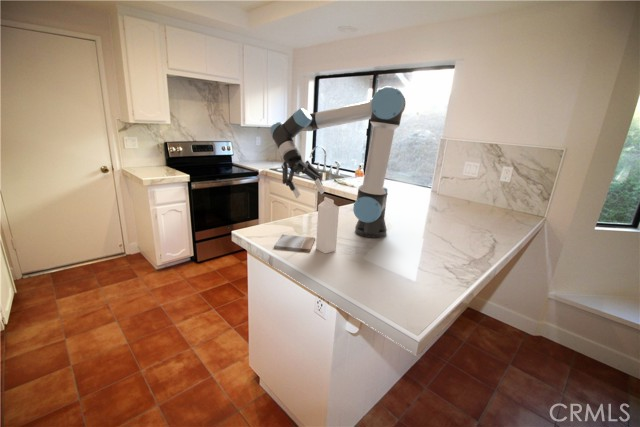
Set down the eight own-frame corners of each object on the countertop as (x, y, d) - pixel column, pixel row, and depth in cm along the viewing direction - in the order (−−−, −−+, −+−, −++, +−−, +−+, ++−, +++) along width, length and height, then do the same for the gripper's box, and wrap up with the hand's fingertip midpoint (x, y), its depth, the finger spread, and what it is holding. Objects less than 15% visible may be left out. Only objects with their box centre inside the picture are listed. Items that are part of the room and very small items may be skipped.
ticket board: (314, 240, 135) (315, 237, 134) (310, 252, 122) (310, 249, 122) (282, 236, 136) (282, 234, 136) (274, 248, 124) (274, 245, 124)
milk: (324, 253, 122) (327, 201, 115) (315, 248, 126) (318, 197, 119) (336, 250, 125) (339, 199, 118) (327, 245, 130) (330, 195, 123)
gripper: (307, 158, 144) (327, 195, 138) (262, 160, 127) (282, 203, 121) (315, 147, 138) (336, 186, 132) (269, 149, 122) (291, 192, 116)
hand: (311, 194), depth 127 cm, fingers open, 13 cm apart
